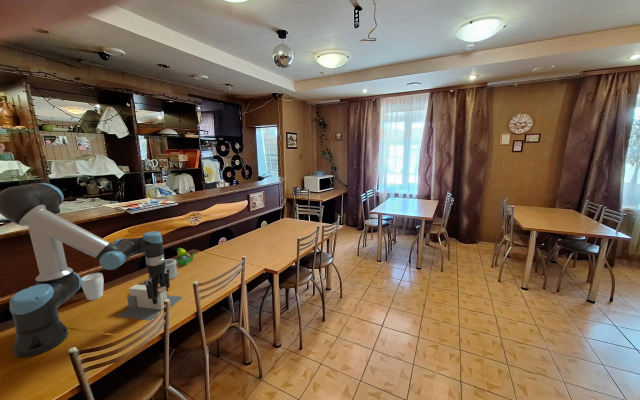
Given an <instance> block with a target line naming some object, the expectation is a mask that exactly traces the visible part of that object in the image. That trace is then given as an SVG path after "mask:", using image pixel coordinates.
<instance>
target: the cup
mask: <svg viewBox="0 0 640 400" xmlns="http://www.w3.org/2000/svg"><path fill="white" fill-rule="evenodd" d="M80 278H81V288H82V290H83V293H84V296H85V297H86V300H88V301H93V300H94V301H95V300H97V299H101V298H102V297H103V295H104V284H105V283H104V275H103V273H102V272H95V273H94V272H93V273H89V274H86V275H84V276H82V277H80Z"/></svg>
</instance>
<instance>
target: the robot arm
mask: <svg viewBox="0 0 640 400" xmlns="http://www.w3.org/2000/svg"><path fill="white" fill-rule="evenodd" d="M64 198H65V197H64V193H63V192H62V191H61V189H60V188H59V187H57V186H56V185H53V184H51V183H46V182H45V183H43V182H39V183H37V182H36V183H29V184H23V185H17V186H10V187H8V188H5V189H3V190H1V191H0V215H1V216H2V217H4V218H5V219H7V220H9V221H10V222H12V223H14V224H15V225H18V226H21V227H25V226H26V227H27V226H28V231H29V235H30V236H29V237H30V240H31V243H32V248H33V251H34V255H35V259H36V263H37V268H38V272H39V275H37V276H36V278H35V283H36V284H35V285H31V286H29V287H28V288H24V289H21V290H19V291H18V292H16V293H15V294H14V295H13V296H12V297H10V299H9V312H10V313H11V317H12V321H13V325H14V328H15V333H16V336H15V339H14V343H13V347H12V350H13V356H14V357H16V358H27V357H33V356H36V355H39V354H42V353H45V352H46V351H47V352H48V351H49V350H51V349H53V348H56V347H57V346H58V345H60V344H62V343H63V342H64V341H65V340H66V339H67V337H68V336H69V332H68V331H69V330H68V328H67V326H66V325H65V324H64V323H63V322H62V320H61V319H60V317H59V312H58V308H59V307H61V306H62V305H63V304H64V303H66V302H67V301H68V300H69V299H70V298H72V297H74V295H76V293H77V292H78V291H79V290H80V288H82V286H81V278H82V277H81V276H80V275H79V274H77V273H76V272H75V271H74V269H73V268H71V267H69V266H68V264H67V258H66V255H65V251H64V245H63V244H65V245H67V246H69V247H72V248H73V249H76V250H77V251H80V252H82V253H83V254H86V255H88V256H90V257H92V258H94V259H96V260H98V263H99V265H100V266H101V267H102V269H104V270H108V271H110V270H111V271H112V270H116V269H118V268H119V267H120V266H122V265H123V264H125V262H126V261H127V260H129V258H131V257H132V256H133V255H137V254H138V255H139V254H144V255H145V263H146V264H145V265H146V270H147V273H148V274H149V275H148V279H147V280H146V281H145V280H143V281H144V283H145V285H146V289H147V295H148V299H152V301H153V304H154V309H160V301H159V297H157V295H158V286H163V287H166V292H167V293H168V291H169V290H170V287H171V284H170V280H169V270H168V269H165V262H164V260H165V251H164V245H163V243H164V242H163V236H162V233H161V232H160V231H157V230H156V231H155V230H154V231H153V230H152V231H148V232H144V233H143V234H142V237H130V238H120V239H119V238H118V239H115V240H114V241H113V243H112V242H109V241H108V240H107V239H106V240H105V239H104V238H102V237H100V236H98V235H96V234H94V233H92V232H90V231H88V230H86V229H84V228H83V227H81V226H79V225H77V224H75V223H74V222H71V221H69V220H67V219H65V218H64V217H61V216H59V215H60V214H61V209H60V206H61V205H62V203H63V202H64Z"/></svg>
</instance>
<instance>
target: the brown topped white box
mask: <svg viewBox="0 0 640 400" xmlns="http://www.w3.org/2000/svg"><path fill="white" fill-rule="evenodd" d="M167 295H168V291H167V292H166V287H163V286H160V285H158V295H157V297H159V301H160V309H162V307H163V305H164V301H165V300H166V299H167ZM150 302H151V308H153V309H154V304H153V301H152V299H150Z"/></svg>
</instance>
